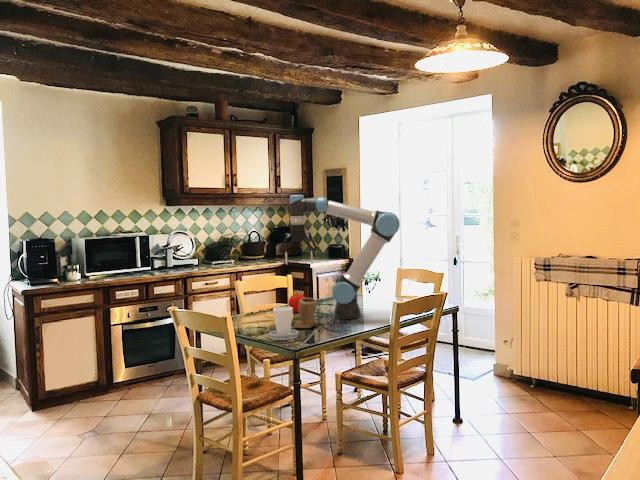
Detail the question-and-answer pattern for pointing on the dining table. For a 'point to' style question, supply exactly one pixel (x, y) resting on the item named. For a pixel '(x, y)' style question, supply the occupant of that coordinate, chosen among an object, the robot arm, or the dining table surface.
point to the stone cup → (306, 313)
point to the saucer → (274, 336)
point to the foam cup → (283, 320)
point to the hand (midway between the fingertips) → (299, 263)
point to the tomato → (295, 301)
